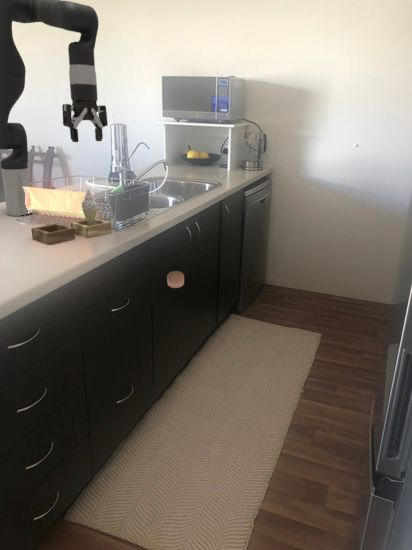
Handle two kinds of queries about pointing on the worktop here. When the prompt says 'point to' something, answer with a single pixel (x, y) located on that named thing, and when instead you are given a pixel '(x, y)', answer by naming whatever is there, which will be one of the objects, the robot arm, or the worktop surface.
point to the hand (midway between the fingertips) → (87, 141)
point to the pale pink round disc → (175, 279)
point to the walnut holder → (53, 233)
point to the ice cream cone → (89, 208)
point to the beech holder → (91, 228)
